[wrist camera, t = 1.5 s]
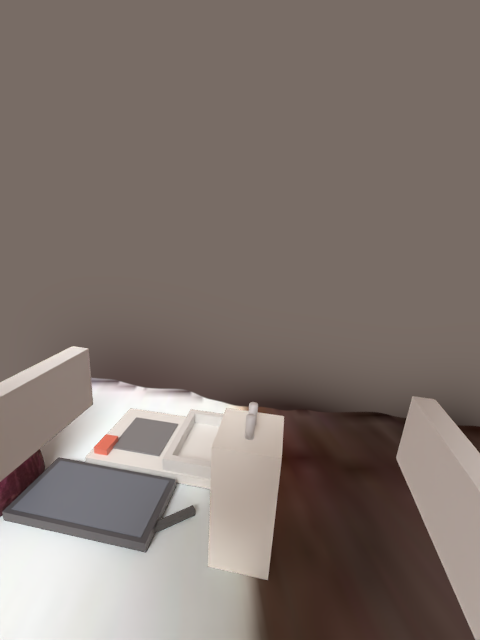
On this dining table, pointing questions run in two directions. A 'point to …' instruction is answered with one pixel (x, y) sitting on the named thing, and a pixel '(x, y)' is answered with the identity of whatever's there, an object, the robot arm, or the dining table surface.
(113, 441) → the white base tray
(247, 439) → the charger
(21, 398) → the robot arm
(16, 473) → the vegetable
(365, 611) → the dining table surface
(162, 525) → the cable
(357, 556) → the dining table surface
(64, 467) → the phone
